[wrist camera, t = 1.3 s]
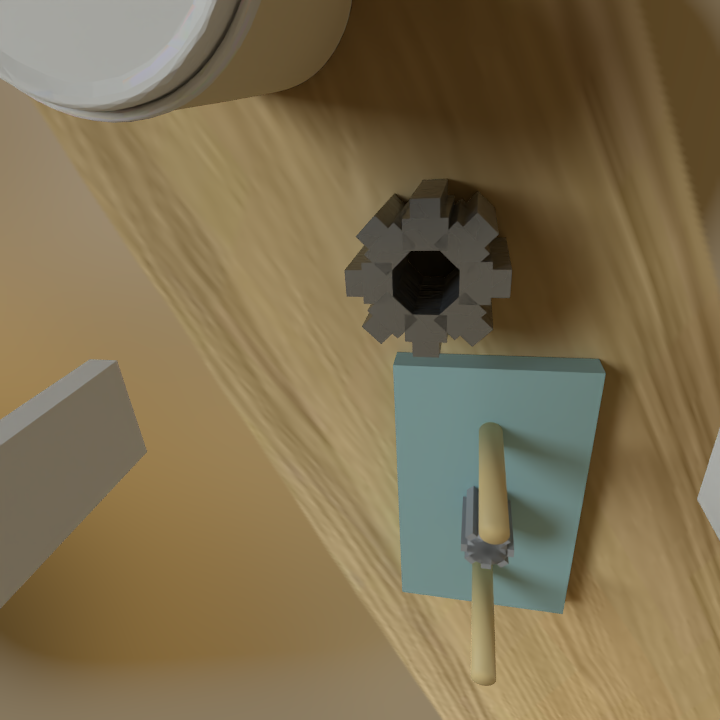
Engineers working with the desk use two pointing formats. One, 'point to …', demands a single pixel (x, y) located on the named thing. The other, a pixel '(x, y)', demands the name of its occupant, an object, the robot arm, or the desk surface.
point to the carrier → (492, 480)
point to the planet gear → (431, 293)
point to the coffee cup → (162, 51)
